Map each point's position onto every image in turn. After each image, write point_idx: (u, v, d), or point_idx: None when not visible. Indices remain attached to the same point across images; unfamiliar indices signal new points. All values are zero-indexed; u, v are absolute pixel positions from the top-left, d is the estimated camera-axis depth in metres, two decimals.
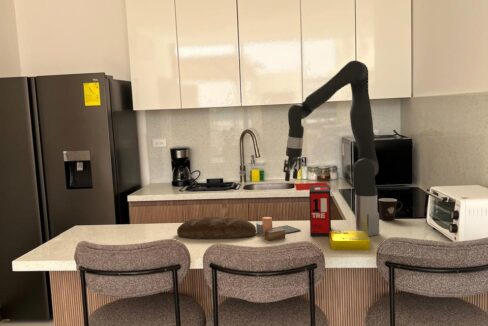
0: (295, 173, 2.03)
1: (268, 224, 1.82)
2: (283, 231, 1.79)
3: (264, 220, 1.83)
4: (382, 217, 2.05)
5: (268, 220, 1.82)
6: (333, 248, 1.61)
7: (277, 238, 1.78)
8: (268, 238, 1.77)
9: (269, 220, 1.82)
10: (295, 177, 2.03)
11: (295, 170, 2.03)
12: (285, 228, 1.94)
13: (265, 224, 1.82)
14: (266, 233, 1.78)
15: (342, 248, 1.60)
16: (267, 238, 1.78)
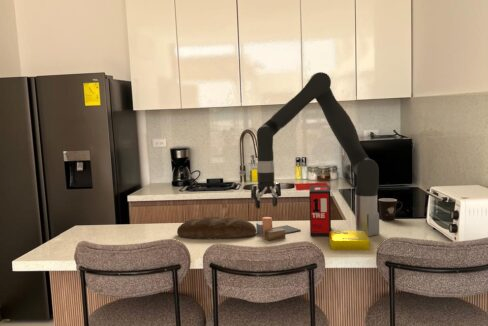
0: (273, 200, 1.85)
1: (268, 224, 1.82)
2: (283, 231, 1.79)
3: (264, 220, 1.83)
4: (382, 217, 2.05)
5: (268, 220, 1.82)
6: (333, 248, 1.61)
7: (277, 238, 1.78)
8: (268, 238, 1.77)
9: (269, 220, 1.82)
10: (274, 204, 1.85)
11: (273, 197, 1.85)
12: (285, 228, 1.94)
13: (265, 224, 1.82)
14: (266, 233, 1.78)
15: (342, 248, 1.60)
16: (267, 238, 1.78)
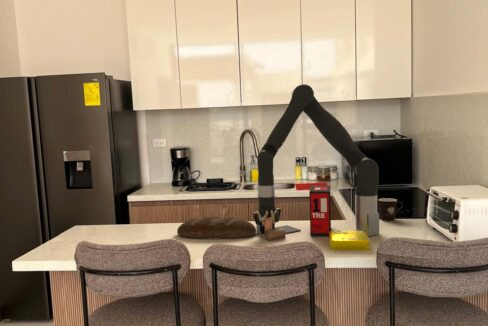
0: None
1: (268, 224, 1.82)
2: (283, 231, 1.79)
3: None
4: (382, 217, 2.05)
5: (268, 220, 1.82)
6: (332, 248, 1.61)
7: (277, 238, 1.78)
8: (268, 238, 1.77)
9: (269, 220, 1.82)
10: None
11: None
12: (285, 228, 1.94)
13: (265, 224, 1.82)
14: (266, 233, 1.78)
15: (342, 248, 1.60)
16: (267, 238, 1.78)
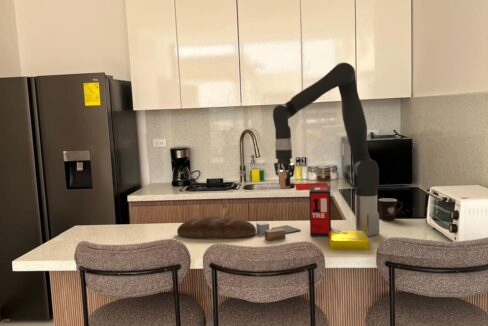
0: None
1: (280, 176, 1.91)
2: (283, 231, 1.79)
3: None
4: (382, 217, 2.05)
5: None
6: (332, 248, 1.61)
7: (277, 238, 1.78)
8: (268, 238, 1.77)
9: (280, 172, 1.90)
10: None
11: None
12: (285, 228, 1.94)
13: None
14: (266, 233, 1.78)
15: (341, 248, 1.60)
16: (267, 238, 1.78)
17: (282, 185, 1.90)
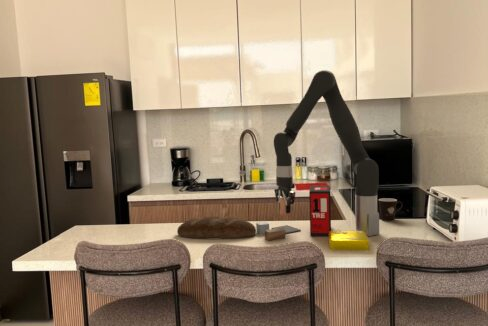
0: None
1: (280, 203, 1.92)
2: (283, 231, 1.79)
3: None
4: (382, 217, 2.05)
5: (280, 199, 1.91)
6: (332, 248, 1.61)
7: (277, 238, 1.78)
8: (267, 238, 1.77)
9: (280, 199, 1.91)
10: None
11: None
12: (285, 228, 1.94)
13: None
14: (266, 233, 1.78)
15: (341, 248, 1.60)
16: (267, 238, 1.78)
17: (282, 212, 1.91)
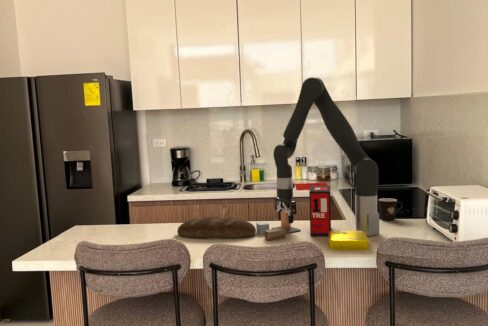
0: None
1: (281, 217, 1.92)
2: (283, 231, 1.79)
3: None
4: (382, 217, 2.05)
5: (281, 213, 1.92)
6: (332, 248, 1.61)
7: (277, 238, 1.78)
8: (267, 238, 1.77)
9: (281, 213, 1.92)
10: None
11: None
12: None
13: None
14: (266, 233, 1.78)
15: (341, 248, 1.60)
16: (266, 238, 1.78)
17: (283, 226, 1.91)
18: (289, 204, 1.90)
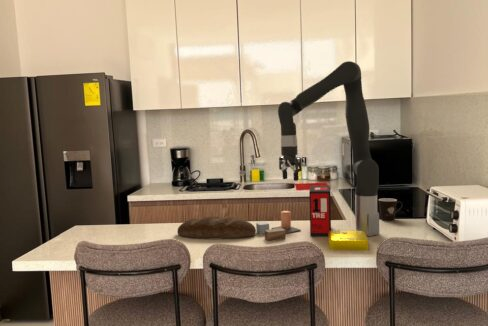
0: None
1: (281, 217, 1.92)
2: (283, 231, 1.79)
3: None
4: (382, 217, 2.05)
5: (281, 213, 1.92)
6: (331, 248, 1.62)
7: (276, 238, 1.78)
8: (267, 238, 1.77)
9: (281, 213, 1.92)
10: None
11: None
12: None
13: None
14: (266, 233, 1.79)
15: (341, 248, 1.61)
16: (266, 238, 1.78)
17: (283, 226, 1.91)
18: (294, 162, 1.90)
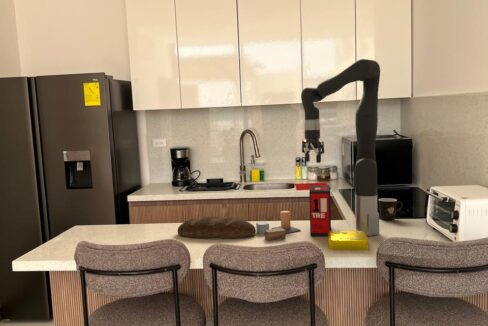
0: None
1: None
2: (283, 231, 1.79)
3: None
4: (382, 217, 2.05)
5: None
6: (331, 248, 1.62)
7: (276, 238, 1.78)
8: (267, 238, 1.77)
9: (281, 213, 1.92)
10: None
11: None
12: None
13: None
14: (266, 233, 1.79)
15: (340, 248, 1.61)
16: (266, 238, 1.78)
17: (283, 226, 1.91)
18: (317, 145, 2.01)
